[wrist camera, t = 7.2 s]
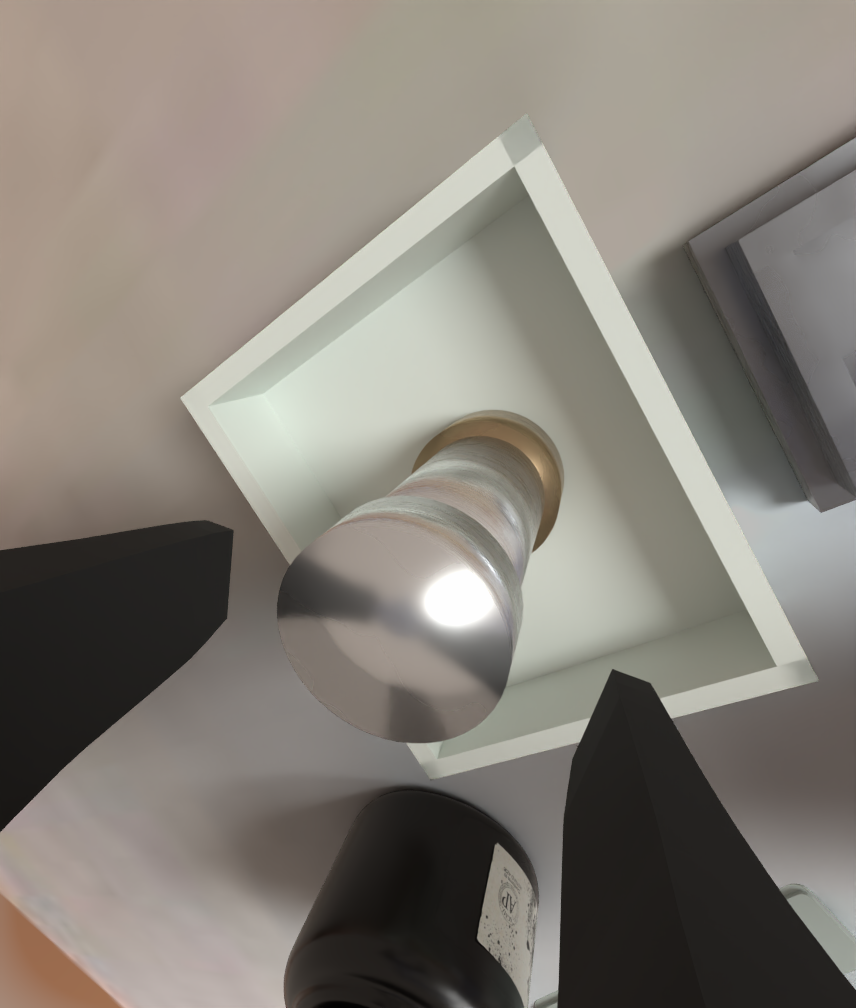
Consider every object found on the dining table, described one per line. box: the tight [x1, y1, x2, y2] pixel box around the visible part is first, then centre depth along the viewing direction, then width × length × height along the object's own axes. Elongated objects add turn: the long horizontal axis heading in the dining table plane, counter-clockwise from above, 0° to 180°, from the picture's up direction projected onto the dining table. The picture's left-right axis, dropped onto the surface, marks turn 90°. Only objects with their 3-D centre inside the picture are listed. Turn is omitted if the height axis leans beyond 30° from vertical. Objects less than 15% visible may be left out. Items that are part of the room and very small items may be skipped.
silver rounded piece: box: [277, 410, 564, 743], centre depth 13 cm, size 4×4×10 cm
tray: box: [181, 113, 819, 780], centre depth 16 cm, size 15×12×4 cm
